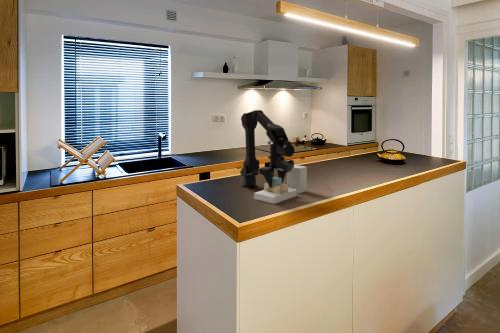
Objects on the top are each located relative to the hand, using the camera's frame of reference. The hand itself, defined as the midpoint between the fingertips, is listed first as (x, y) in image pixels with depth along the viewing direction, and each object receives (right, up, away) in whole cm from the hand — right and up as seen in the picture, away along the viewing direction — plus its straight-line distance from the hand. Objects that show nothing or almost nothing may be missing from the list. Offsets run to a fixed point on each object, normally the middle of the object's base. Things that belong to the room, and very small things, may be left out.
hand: (275, 186), depth 152 cm
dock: (0, -5, +1) cm, 6 cm away
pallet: (0, -2, 0) cm, 2 cm away
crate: (0, +1, 0) cm, 1 cm away
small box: (+12, -3, +12) cm, 17 cm away
